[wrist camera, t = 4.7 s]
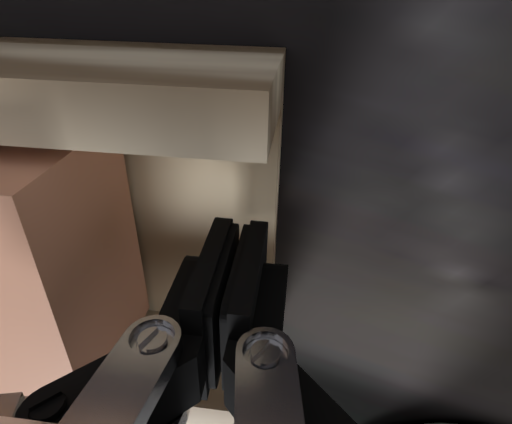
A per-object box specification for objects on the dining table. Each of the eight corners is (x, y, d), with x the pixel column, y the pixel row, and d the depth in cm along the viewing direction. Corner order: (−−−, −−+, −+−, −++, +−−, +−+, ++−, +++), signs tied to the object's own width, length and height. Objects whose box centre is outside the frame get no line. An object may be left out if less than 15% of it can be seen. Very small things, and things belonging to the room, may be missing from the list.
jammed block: (149, 307, 16) (91, 424, 12) (14, 292, 17) (-87, 399, 13) (117, 117, 12) (12, 196, 8) (-61, 107, 13) (-247, 174, 9)
